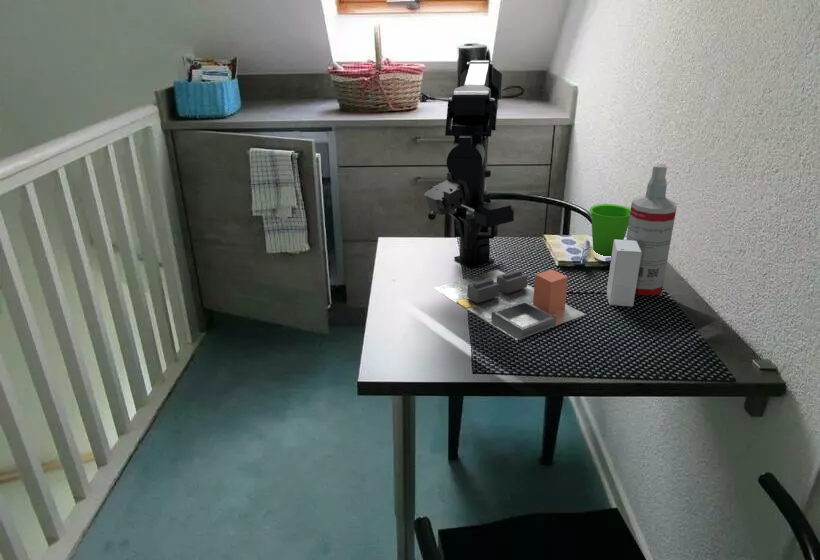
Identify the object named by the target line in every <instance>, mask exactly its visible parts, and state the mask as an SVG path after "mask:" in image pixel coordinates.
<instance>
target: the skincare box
mask: <svg viewBox="0 0 820 560" xmlns="http://www.w3.org/2000/svg"><path fill="white" fill-rule="evenodd" d="M641 254H642V252H641V249H640V247H639V245H638V243H637V241H632V240H626V239H624V240H617V239H615V240H614V243H613V250H612V256H611V262H609V263H610V264H609V265H610V266H609V273H608V279H607V287H606V297H607V301H608V304H609V305H610V306H622V307H625V306H626V307H634V303H635V296H636V294H635V291H636V285H637V279H638V272H639V266H640V260H641Z"/></svg>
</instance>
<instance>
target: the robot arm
mask: <svg viewBox="0 0 820 560" xmlns="http://www.w3.org/2000/svg"><path fill="white" fill-rule="evenodd" d="M459 85H460V86H458V87H456V88H454V90H453V92H452V93H451V94H452V95H451V97H448V99H447V100H448V101H447V109H446V120H445V123H446V124H445V133H444V136H445V137H447V136H448V137H453V145H452V147H451V149H450V150H449V153H448V154H447V158H446V167H447V170H448V172H447V173H446V179H445V181H443V182H440V183H438V184H436V185H432V186H430V188H429V189H428V190H426V191H425V192H424V199H425V202H426V204H427V207H428V210H429V211H430V212H435V213H436V214H438V215H440V216H443V215H446V214H447V215H449V216H451V217H452V218H453V229H454V231H453V232H454V234H453V235H454V238H459V255H456V256H454V257H453V258H454V259H453V260H454V261H457V262H459V263H460V264H462V265H464V266H465V267H468V268H470V269H475V268H477V267H482V266H485V265H488V264H492V263H494V262H495V259H494V258H491V257H490V255H491V254H490V251H491V244H490V239H491V240H494V239H495V238H496V237H497V236H498V232H499V231H498V230H499V229H498V227H499V225H503V224H507V223H511V222H514V220H515V209H514V207H513V206H512V205H511V204H508V203H505V202H502V201H500V200H495V201H492V200H491V193H489V192H488V191H487V178H490V177H491V174H492V171H491V170H488V159H489V156H488V155H489V140H490V137H491V138H492V134H493V131H496V130H497V119H498V117H497V116H498V109H499V100H502V98H503V74H502V73H501V72H500V71H499V70H498V69H497V68H495V67H494V61H491V60H489V59H486V60H485V59H483V60H481V59H479V60H474V59H473V60H470V61H467V62H466V69H464V71H463V72H461V74H460V83H459Z"/></svg>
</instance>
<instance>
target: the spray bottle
mask: <svg viewBox="0 0 820 560" xmlns="http://www.w3.org/2000/svg"><path fill="white" fill-rule="evenodd" d="M667 170H668V166H667V165H666V164H661V163H660V164H655V165H653V167H652V171H651V172H652V174H651V177H650V178H649V181H648V182H647V187H646V192H645V195H642V196H640V197H635V198H633V199H632V200H631V205H630V209H631V211H630V218H629V225H628V228H627V231H626V239H625V240H632V241H637V243H638V245H639V247H640V249H641V252H642V254H641V260H640V266H639V272H638V279H637V285H636V291H635V295H638V296H639V295H640V296H655V295H658V296H660V297H662V293H663V287H664V282H665V276H666V270H667V264H668V258H669V254H670V253H669V252H670V248H671V242H672V241H671V240H672V235H673V230H674V224H675V220H676V219H675V218H676V213H677V207H678V203H677V202H676V201H673V200H671V199H669V198H667V197H666V196H667V195H666V194H667V182H668V181H667V178H666V175H667Z"/></svg>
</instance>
